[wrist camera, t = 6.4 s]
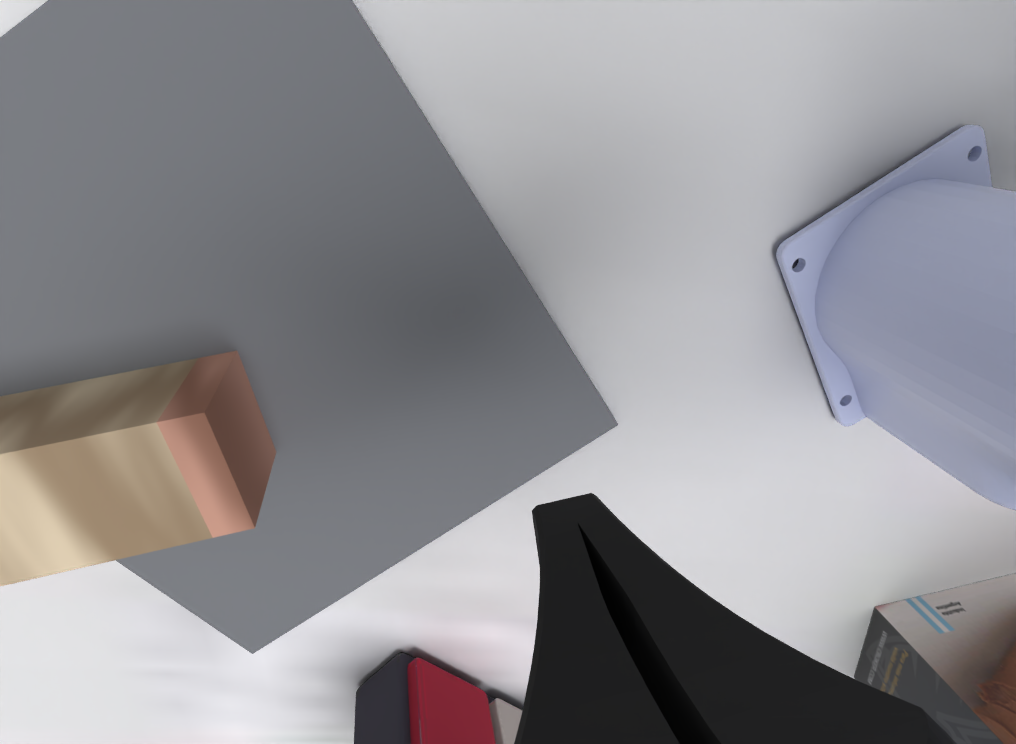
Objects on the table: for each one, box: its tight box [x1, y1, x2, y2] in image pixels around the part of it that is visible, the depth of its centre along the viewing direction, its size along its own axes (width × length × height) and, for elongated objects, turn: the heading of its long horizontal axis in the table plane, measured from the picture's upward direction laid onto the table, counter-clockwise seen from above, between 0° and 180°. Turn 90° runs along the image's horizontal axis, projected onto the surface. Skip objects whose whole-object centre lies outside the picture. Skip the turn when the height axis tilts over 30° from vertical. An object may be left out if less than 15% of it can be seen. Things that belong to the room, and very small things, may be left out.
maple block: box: [0, 351, 276, 586], centre depth 17 cm, size 4×4×8 cm
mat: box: [0, 0, 618, 654], centre depth 19 cm, size 20×18×1 cm
